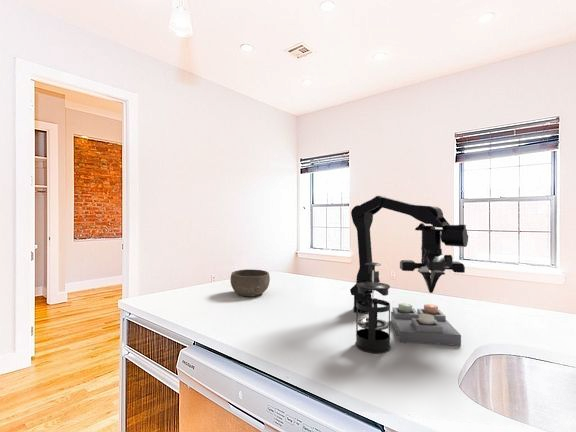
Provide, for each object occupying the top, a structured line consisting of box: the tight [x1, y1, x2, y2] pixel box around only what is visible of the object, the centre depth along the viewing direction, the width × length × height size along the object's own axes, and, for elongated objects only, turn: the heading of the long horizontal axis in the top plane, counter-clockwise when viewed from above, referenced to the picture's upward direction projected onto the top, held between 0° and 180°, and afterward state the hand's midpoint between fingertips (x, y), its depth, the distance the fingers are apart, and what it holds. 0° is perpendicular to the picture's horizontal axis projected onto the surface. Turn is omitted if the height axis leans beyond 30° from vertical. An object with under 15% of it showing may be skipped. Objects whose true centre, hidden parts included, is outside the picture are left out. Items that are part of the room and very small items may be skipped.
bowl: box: [230, 268, 271, 297], centre depth 148 cm, size 17×18×10 cm
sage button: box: [397, 302, 413, 312], centre depth 107 cm, size 4×4×2 cm
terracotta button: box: [423, 303, 439, 314], centre depth 106 cm, size 4×4×2 cm
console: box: [390, 307, 462, 347], centre depth 101 cm, size 16×19×4 cm
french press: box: [355, 261, 392, 354], centre depth 90 cm, size 12×9×23 cm
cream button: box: [419, 314, 434, 324], centre depth 96 cm, size 4×4×2 cm
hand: (430, 292), depth 106 cm, fingers closed
